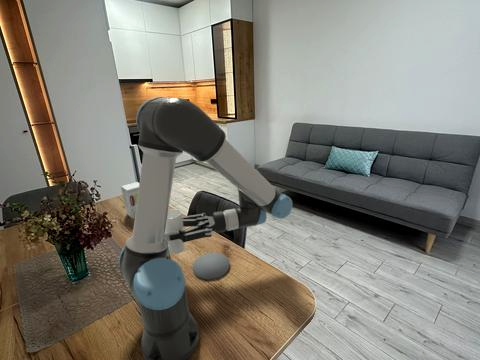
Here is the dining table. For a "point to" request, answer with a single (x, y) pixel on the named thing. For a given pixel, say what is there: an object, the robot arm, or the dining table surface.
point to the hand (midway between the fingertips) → (159, 233)
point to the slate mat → (211, 266)
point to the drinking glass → (174, 225)
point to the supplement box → (130, 198)
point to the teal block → (168, 251)
